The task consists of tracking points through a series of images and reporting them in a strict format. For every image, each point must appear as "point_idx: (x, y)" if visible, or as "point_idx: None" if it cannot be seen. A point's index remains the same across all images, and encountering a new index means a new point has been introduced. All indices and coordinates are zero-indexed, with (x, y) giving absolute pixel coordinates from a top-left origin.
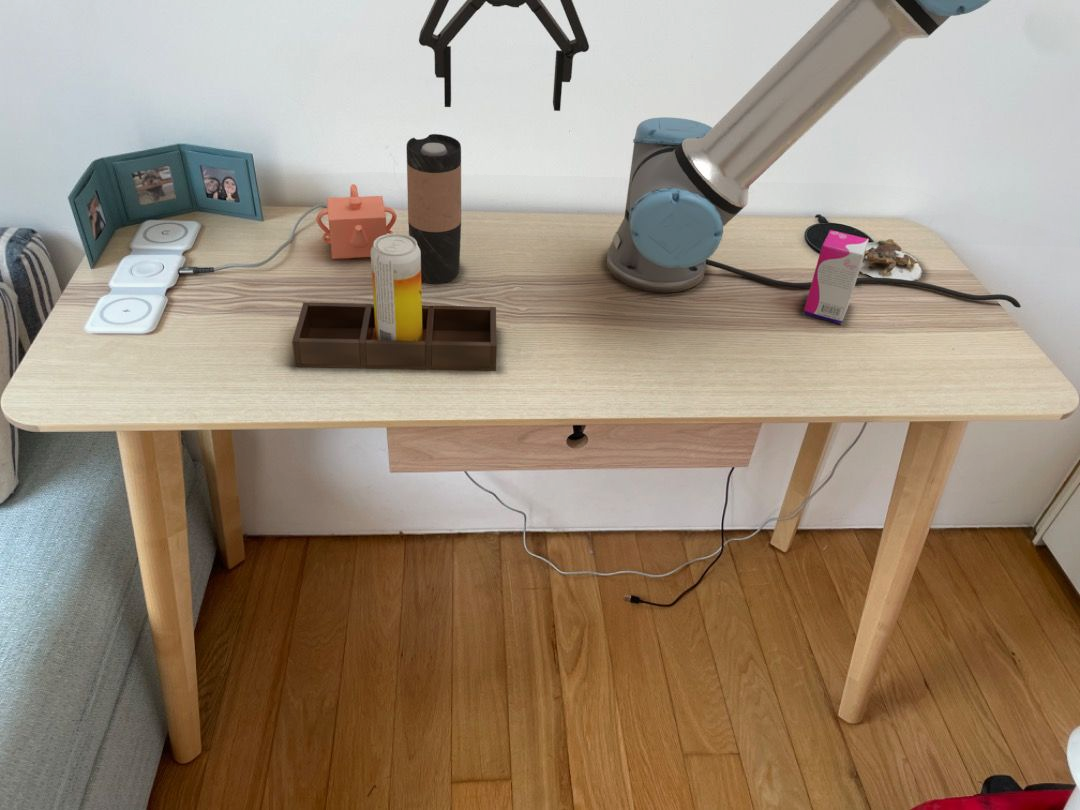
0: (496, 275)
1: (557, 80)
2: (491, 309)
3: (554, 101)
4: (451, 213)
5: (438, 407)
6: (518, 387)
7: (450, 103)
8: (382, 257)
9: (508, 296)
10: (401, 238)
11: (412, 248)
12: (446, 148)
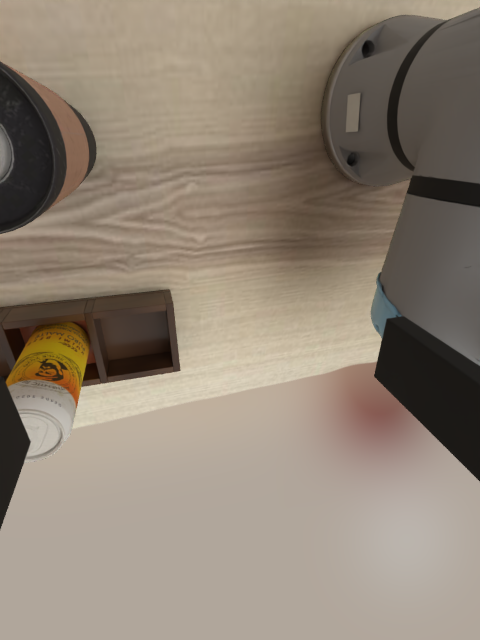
0: (158, 149)
1: (448, 447)
2: (167, 309)
3: (391, 383)
4: (72, 190)
5: (129, 407)
6: (199, 370)
7: (26, 454)
8: None
9: (180, 209)
10: (29, 418)
11: (58, 435)
12: (1, 120)
